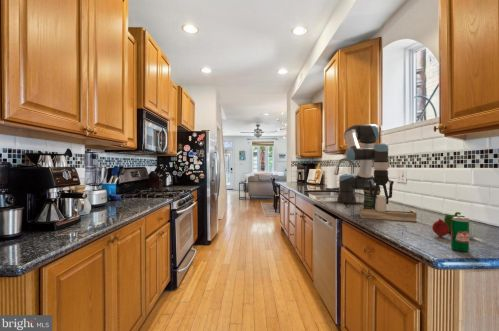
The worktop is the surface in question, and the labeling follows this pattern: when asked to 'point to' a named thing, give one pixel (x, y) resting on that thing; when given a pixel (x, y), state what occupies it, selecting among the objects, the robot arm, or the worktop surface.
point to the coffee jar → (367, 199)
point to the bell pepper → (448, 219)
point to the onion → (440, 228)
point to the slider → (380, 203)
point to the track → (389, 214)
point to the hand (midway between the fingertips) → (380, 209)
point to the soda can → (460, 234)
